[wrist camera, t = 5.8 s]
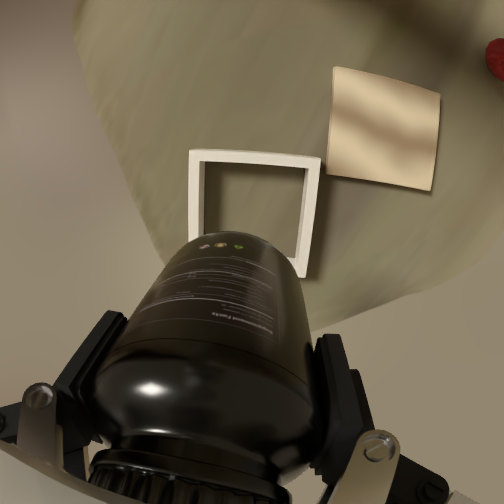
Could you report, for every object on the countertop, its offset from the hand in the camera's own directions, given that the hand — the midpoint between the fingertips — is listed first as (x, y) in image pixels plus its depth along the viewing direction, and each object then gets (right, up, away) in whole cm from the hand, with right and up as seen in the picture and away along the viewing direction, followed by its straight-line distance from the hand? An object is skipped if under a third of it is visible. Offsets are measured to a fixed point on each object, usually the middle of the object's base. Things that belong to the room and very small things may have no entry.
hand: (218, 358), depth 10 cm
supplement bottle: (0, +2, +5) cm, 5 cm away
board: (+15, +16, +16) cm, 27 cm away
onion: (+31, +27, +10) cm, 42 cm away
